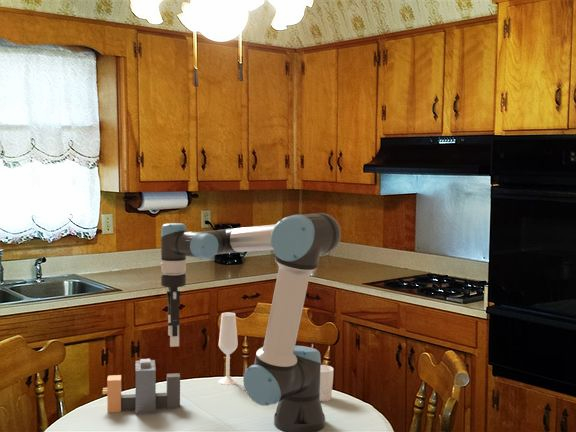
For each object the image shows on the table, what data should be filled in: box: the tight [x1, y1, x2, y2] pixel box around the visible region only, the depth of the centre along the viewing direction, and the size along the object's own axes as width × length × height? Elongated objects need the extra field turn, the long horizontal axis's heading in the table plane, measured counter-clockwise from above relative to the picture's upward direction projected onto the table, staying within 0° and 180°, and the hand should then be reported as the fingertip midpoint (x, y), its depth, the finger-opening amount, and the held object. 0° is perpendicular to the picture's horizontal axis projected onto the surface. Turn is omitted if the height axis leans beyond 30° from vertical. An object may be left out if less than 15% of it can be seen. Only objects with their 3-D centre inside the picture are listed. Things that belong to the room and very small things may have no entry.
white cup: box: [320, 364, 335, 402], centre depth 237 cm, size 8×8×10 cm
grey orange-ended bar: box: [102, 372, 181, 414], centre depth 225 cm, size 24×5×10 cm, turn 102°
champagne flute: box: [217, 312, 239, 386], centre depth 252 cm, size 7×7×24 cm
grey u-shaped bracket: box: [135, 358, 157, 415], centre depth 225 cm, size 6×11×15 cm, turn 12°
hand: (173, 340), depth 226 cm, fingers open, 13 cm apart
